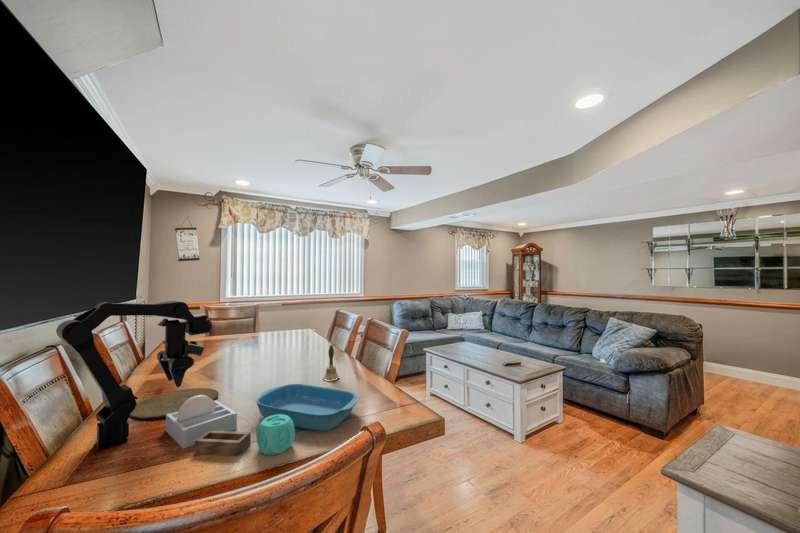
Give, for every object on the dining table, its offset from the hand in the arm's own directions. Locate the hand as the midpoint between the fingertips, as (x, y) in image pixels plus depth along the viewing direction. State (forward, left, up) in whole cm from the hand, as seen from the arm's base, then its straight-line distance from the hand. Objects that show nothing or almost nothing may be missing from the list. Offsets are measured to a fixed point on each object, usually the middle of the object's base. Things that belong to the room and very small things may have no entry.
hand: (174, 383), depth 109 cm
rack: (+4, -14, -13) cm, 19 cm away
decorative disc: (+6, +16, -14) cm, 22 cm away
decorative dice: (+14, -42, -13) cm, 46 cm away
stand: (+4, -31, -13) cm, 34 cm away
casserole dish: (+32, -31, -14) cm, 47 cm away
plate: (+3, -14, -7) cm, 15 cm away
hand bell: (+63, -6, -13) cm, 65 cm away
